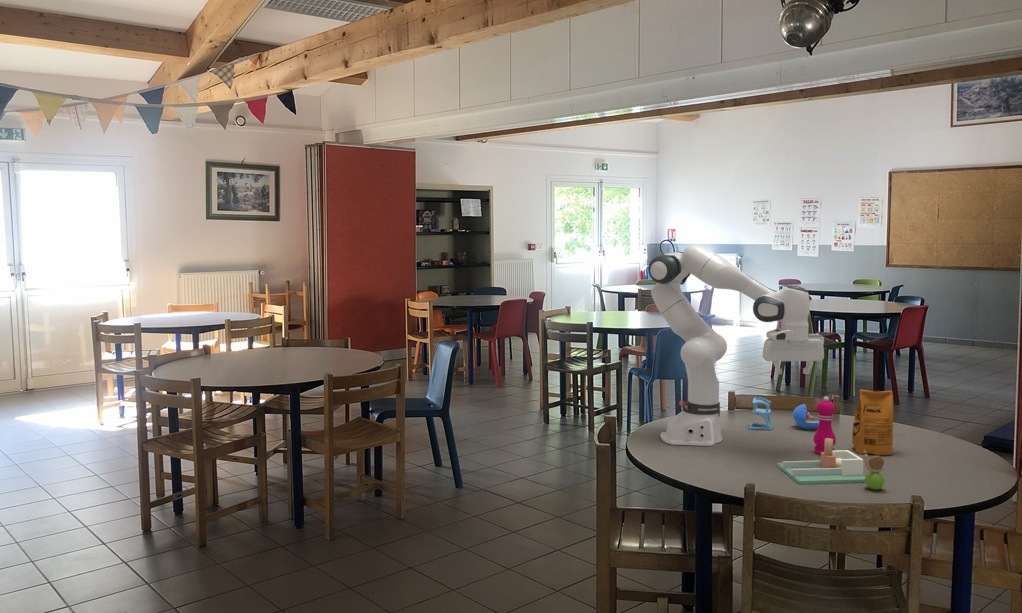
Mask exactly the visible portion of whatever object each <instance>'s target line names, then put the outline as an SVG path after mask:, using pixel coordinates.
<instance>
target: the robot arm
mask: <svg viewBox="0 0 1022 613" xmlns="http://www.w3.org/2000/svg"><path fill="white" fill-rule="evenodd" d="M647 270H648V271H647V272H648V275H649V278H650V279H651V280H652V281H653V282H655V284H654V285H653V287H652V288H651V290H650V294H651V297H652V299H653V302H654V304H655V306H656V308H657V309H658V311H659V313H660V315H661V316H662V317H663V319H664V320H665V322H666V323H667V325H668V326H669V328H670V329H671V331H672V332H673V333H674V334H676V335H677V336H679V337H680V338H681V339H682V340H684V341H685V343H684V344H683V345H682V347H681V349H680V358H681V360H682V362H683V363H684V366H685V371H686V374H687V375H686V376H687V385H688V387H687V388H688V390H687V398H688V399H687V401H684V400H680V401H679V402H678V405H679V406H680V407H682V411H681V412H679V413H678V414H677V415H675V416H674V417H671V419H669V421H668V423H667V425H666V431H662V432H661V433H660V435H659V436H660V439H661V440H662V441H663V442H664V443H665V444H669V445H673V446H677V445H678V446H701V447H702V446H703V447H704V446H705V447H706V446H707V447H712V446H714V445H716V444H718V443H721V442H723V436H722V432H721V427H720V414H721V403H720V381H719V379H718V377H717V374H716V370H715V363H716V362H718V361H719V360H721V359H722V358H723V357H724V356H725V355H726V352H727V350H728V343H727V341H726V339H725V338H724V336H722V335H721V334H719V333H717V332H716V331H715V330H714V329H713V327H711V326H710V325H709V324H708V323H707V322H706V321H705V320H704V319H703V318H702V317H701V316H700V315H699V314H698V313H697V311H696V308H694V307H693V305H692V304H691V302H690V301H689V299H688V298H687V296H685V294H684V293H683V291H682V289H681V285H684V284H685V283H686V282H687V279H688V278H689V277H690V276H691V275H692V276H694V277H695V278H696V279H698V280H699V281H701V282H703V283H704V284H705V285H708V286H710V287H711V288H714V289H719V290H729V291H730V290H732V291H736V292H739V293H742V294H743V295H745V296H747V297H748V298H750V299H752V300H754V302H753V304H752V312H753V314H754V316H755V318H756V319H758V321H760V322H762V323H763V322H764V323H773V322H780V327H778V328H775V329H772V330H769V331H767V332H766V334H765V335H766V338H767V339H765V340H764V343H763V348H762V359H764V360H765V361H766V362H772V364H773V366H774V368H775V374H776V375H782V374H783V369H782V368H781V367H780V366H779V365H780V362H806V364H807V365H806V366H805V367H803V368H802V374H804V375H809V374H810V370H811V368H812V367H813V365H814V362H822V361H823V360H824V358H825V350H824V349H825V348H824V344H825V337H824V336H823V335H822V334H820V333H809V325H810V324H809V314H810V295H809V292H808V290H807V289H806V288H804V287H801V286H798V285H792V284H791V285H785V286H784V287H783V288H781V289H779V290H775V289H772V288H769V287H767V286H766V285H764V284H763V283H761V282H759V281H758V280H757V279H754V278H753V277H751V276H749V275H748V274H746V273H744V272H743V271H742V270H740V268H738V267H736V266H735V265H733V264H732V263H731V262H729V261H728V260H727V259H725V258H724V257H722V256H721V255H719V254H718V253H716V252H715V251H713V250H711V249H710V248H707V247H706V246H703V245H700V244H697V243H691V244H690V245H687V247H685V248H684V250H683V251H674V252H667V253H665V254H660V255H657V256H655V257H654V258H653V259H652V260H650V262H649V264H648V268H647Z"/></svg>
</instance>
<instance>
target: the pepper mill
mask: <svg viewBox="0 0 1022 613" xmlns="http://www.w3.org/2000/svg"><path fill="white" fill-rule="evenodd" d="M835 406H836V405H835V404H834V403H833V402H832V401H830V399H829V397H828V396H824V397H823V398H822V400H820V401H819V402H818V403H817V404H816V408H815V409H816V412H817V417H818V419H819V427H818V428H816V429H817V430H816V431H815V433H814V435H813V444H815V446H814V453H816V454H818V455H820V456H821V452H824V447H825V438H830V439H833V451H835V448H834V446H835V445H836V441H837V440H836V439H837V438H836V436H835V433H834V430H833V428H832V421H833V419H834V413H836V412H835V411H836V407H835Z"/></svg>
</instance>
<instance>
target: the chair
mask: <svg viewBox="0 0 1022 613" xmlns="http://www.w3.org/2000/svg"><path fill="white" fill-rule="evenodd" d="M771 403H772V401H771V400H768V399H767V398H764V397H756V396H755V397H753V399H752V408H753V409H752V410H751V414H752V415H753V414H754V415H758V416H760V417H762V418H763V419H764V422H765V423H766V424H763V423H758V422H751V423H750V424H749V427H748V430H750V429H753V431H754V430H756V429H758V430H759V431H772V430H773V422H772V419H771V416H770V414H771V412H772V408H770V406H771ZM759 404H760V405H763V406H765V408H759V407H758V405H759ZM755 425H756V426H755ZM758 430H757V431H758Z"/></svg>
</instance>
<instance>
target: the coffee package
mask: <svg viewBox="0 0 1022 613" xmlns="http://www.w3.org/2000/svg"><path fill="white" fill-rule="evenodd" d="M893 394H894V393H893V391H892V390H883V391H873V390H866V389H861V388H859V398H858V401H857V405H856V408H855V409H856V410H855V412H854V420H853V425H852V433H851V434H852V437H851V438H852V441H851V442H852V444H853V449H854V452H855V453H857V454H859V455H865V452H863V451H866V454H867V455H868V454H870V455H873V456H891V455H892V454H893V442H894V439H893V437H894V431H893V430H894V403H893V400H894V395H893Z"/></svg>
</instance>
